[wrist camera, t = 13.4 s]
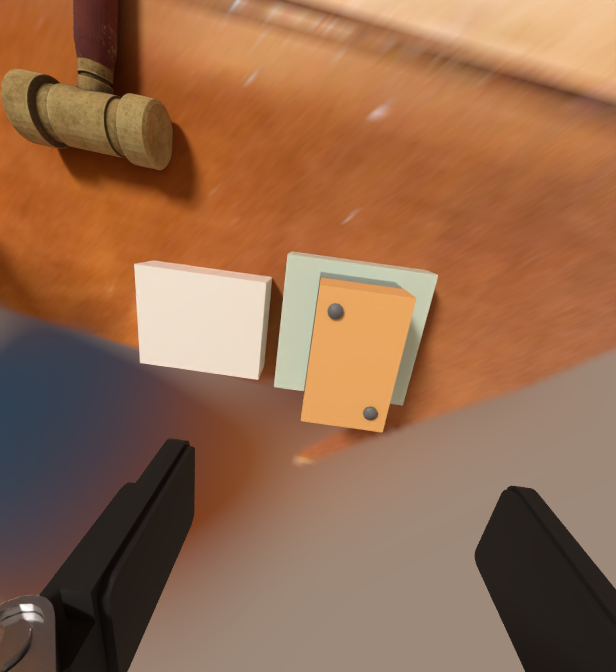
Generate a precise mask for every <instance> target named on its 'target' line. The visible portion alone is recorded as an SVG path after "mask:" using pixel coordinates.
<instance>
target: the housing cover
mask: <svg viewBox="0 0 616 672" xmlns="http://www.w3.org/2000/svg"><path fill="white" fill-rule="evenodd" d="M415 302H416V298H415V297H414V296H413V295H412V294H410V293H409V292H408V291H406V290H405V289H400V288H393V287H386V286H378V285H371V284H364V283H357V282H349V281H342V280H335V279H328V278H321V280H320V287H319V294H318V301H317V308H316V315H315V322H314V329H313V336H312V343H311V350H310V357H309V364H308V372H307V379H306V386H305V393H304V400H303V408H302V416H301V421H305V422H313V423H319V424H326V425H334V426H340V427H347V428H354V429H361V430H368V431H375V432H382V433H383V429H384V425H385V421H386V417H387V413H388V409H389V405H390V401H391V397H392V393H393V389H394V385H395V381H396V377H397V373H398V369H399V365H400V361H401V357H402V353H403V350H404V346H405V342H406V338H407V334H408V330H409V326H410V322H411V318H412V314H413V310H414V306H415Z"/></svg>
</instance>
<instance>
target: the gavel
mask: <svg viewBox="0 0 616 672" xmlns="http://www.w3.org/2000/svg"><path fill="white" fill-rule="evenodd" d="M118 1H119V0H73V7H74V41H75V47H76V53H77V59H78V73H79V74H80V75H78V76H77V87H75V86H71V85H66V84H62V83H60V82H58V81H57V80H56V79H55V78H53V77H51V76H49V75H45V74H40V73H36V72H31V71H26V70H22V69H13V70H11V71H9V72H8V73H7V74H6V75H5V77H4V78H3V81H2V85H1V97H2V103H3V107H4V110H5V112H6V114H7V117H8V119H9V120H10V122H11V124H12V125H13V127H14V128H15V129H16V130H17V132H18V133H19V134H20V135H21V136H23V137H24V138H25V139H27V140H28V141H30V142H32V143H36V144H40V145H45V146H49V147H54V148H59V149H65V148H68V147H70V146H71V147H75V148H79V149H84V150H89V151H93V152H98V153H103V154H107V155H112V156H117V157H121V158H127V159H128V160H129V161H130V162H131V163H133V164H134V165H138V166H142V167H147V168H152V169H156V170H163V169H164V168H165V167H166V166H167V165H168V163H169V161H170V159H171V156H172V142H173V128H172V123H171V120H170V117H169V114H168V112H167V110H166V108H165V106H164V105H163V104H162V102H161V101H159V100H158V99H154V98H150V97H145V96H141V95H136V94H132V93H128V94H125V95H124V96H123V97H122V98H121V97H120V96H117V95H113V89H112V88H111V87H113V73H114V68H115V63H116V59H117V39H118Z"/></svg>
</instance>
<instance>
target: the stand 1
mask: <svg viewBox="0 0 616 672" xmlns="http://www.w3.org/2000/svg"><path fill="white" fill-rule="evenodd" d="M134 267H135V284H136V301H137V317H138V334H139V351H140V363H145V364H152V365H159V366H166V367H173V368H180V369H187V370H194V371H200V372H207V373H214V374H221V375H228V376H235V377H242V378H249V379H256V380H258V379H259V377H260V375H261V372H262V370H263V368H264V364H265V353H266V342H267V331H268V320H269V309H270V298H271V287H272V277H268V276H260V275H253V274H246V273H239V272H232V271H225V270H218V269H211V268H204V267H197V266H189V265H182V264H175V263H168V262H161V261H154V260H153V261H148V262H143V263H137V264H134Z"/></svg>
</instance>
